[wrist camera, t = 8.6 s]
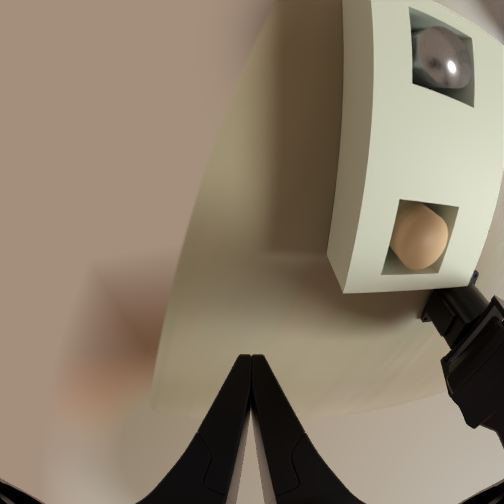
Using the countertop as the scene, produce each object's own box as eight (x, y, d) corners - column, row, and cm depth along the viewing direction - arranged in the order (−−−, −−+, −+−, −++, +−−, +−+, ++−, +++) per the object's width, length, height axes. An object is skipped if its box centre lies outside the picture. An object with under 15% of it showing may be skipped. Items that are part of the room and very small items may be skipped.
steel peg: (430, 47, 12) (470, 41, 8) (431, 93, 14) (472, 97, 10) (386, 30, 12) (421, 16, 8) (386, 80, 14) (424, 76, 10)
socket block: (467, 49, 11) (506, 47, 7) (439, 255, 21) (467, 285, 17) (341, 1, 11) (367, -25, 7) (326, 254, 21) (343, 293, 17)
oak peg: (419, 192, 18) (454, 216, 14) (408, 238, 20) (437, 269, 16) (377, 187, 18) (408, 211, 14) (367, 236, 20) (392, 270, 16)
